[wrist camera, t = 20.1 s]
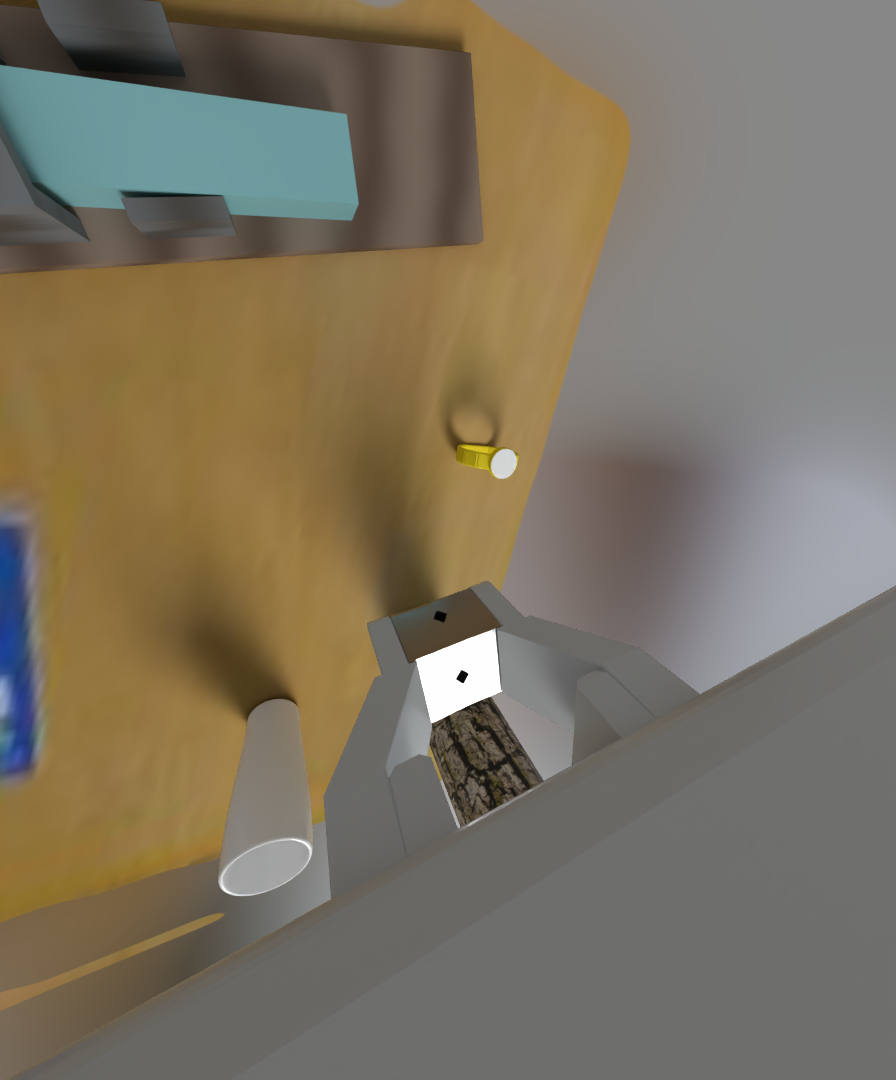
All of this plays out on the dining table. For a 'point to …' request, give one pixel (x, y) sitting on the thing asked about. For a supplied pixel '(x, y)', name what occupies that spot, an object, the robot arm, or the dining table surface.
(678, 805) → the robot arm
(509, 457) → the watch
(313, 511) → the dining table surface
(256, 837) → the drinking glass
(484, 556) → the dining table surface
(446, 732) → the brown bark cylinder
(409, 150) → the end-cap base
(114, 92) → the slat
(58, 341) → the dining table surface
